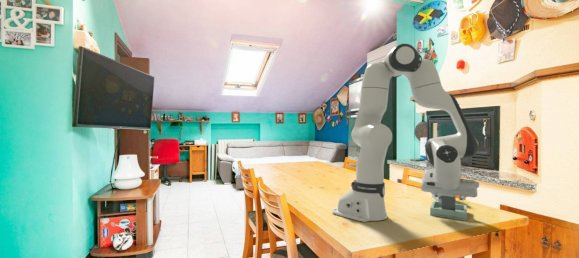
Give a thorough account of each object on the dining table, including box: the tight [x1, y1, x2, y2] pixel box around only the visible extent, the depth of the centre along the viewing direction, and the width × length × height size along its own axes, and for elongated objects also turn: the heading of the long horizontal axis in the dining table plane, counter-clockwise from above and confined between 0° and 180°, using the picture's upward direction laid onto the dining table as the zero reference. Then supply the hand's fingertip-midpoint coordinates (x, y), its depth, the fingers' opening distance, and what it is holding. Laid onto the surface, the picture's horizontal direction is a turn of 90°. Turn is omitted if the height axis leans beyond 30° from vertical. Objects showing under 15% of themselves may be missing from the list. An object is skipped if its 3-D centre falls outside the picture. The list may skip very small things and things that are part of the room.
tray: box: [429, 200, 468, 222], centre depth 118 cm, size 13×13×3 cm
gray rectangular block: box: [442, 194, 457, 211], centre depth 118 cm, size 5×5×8 cm
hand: (448, 197), depth 118 cm, fingers open, 8 cm apart
